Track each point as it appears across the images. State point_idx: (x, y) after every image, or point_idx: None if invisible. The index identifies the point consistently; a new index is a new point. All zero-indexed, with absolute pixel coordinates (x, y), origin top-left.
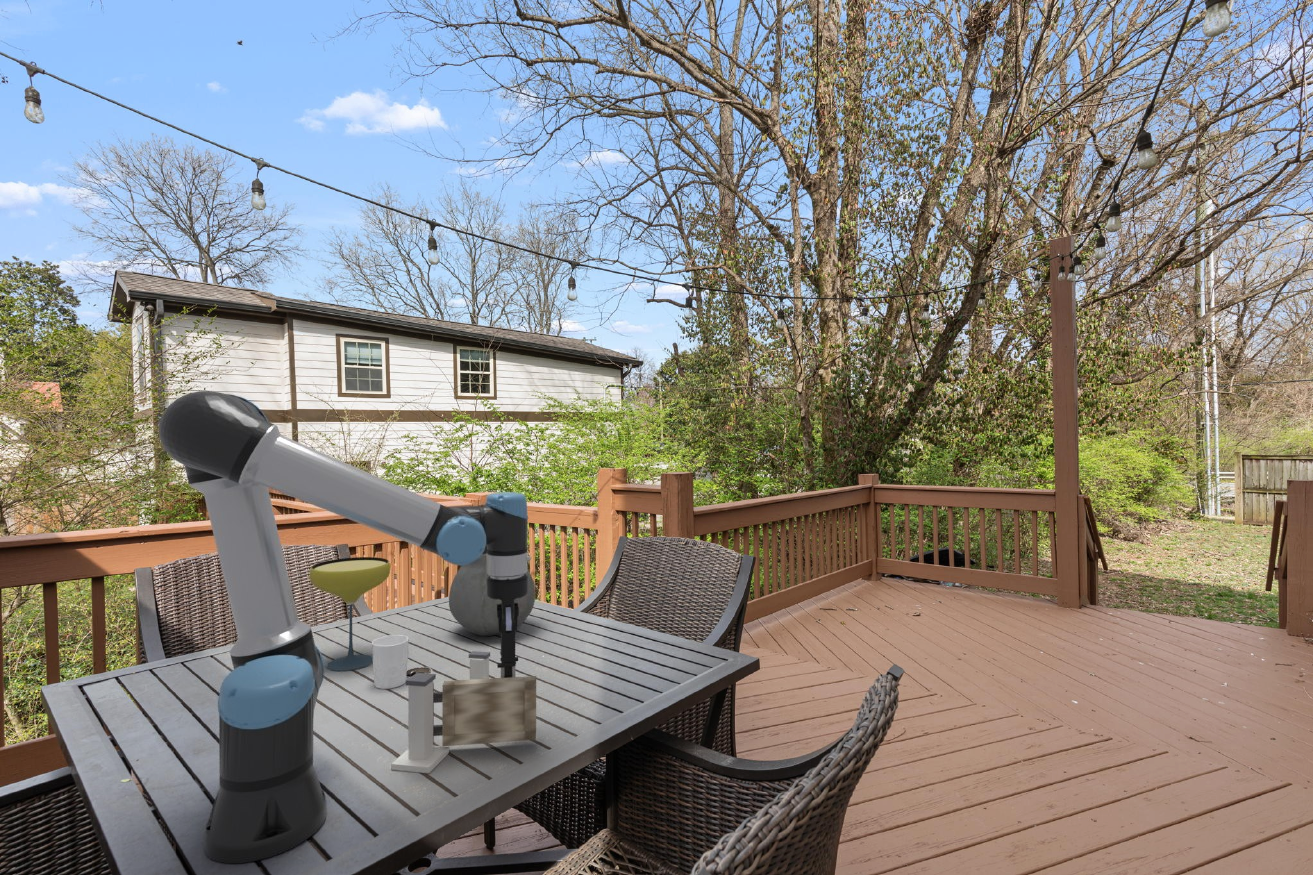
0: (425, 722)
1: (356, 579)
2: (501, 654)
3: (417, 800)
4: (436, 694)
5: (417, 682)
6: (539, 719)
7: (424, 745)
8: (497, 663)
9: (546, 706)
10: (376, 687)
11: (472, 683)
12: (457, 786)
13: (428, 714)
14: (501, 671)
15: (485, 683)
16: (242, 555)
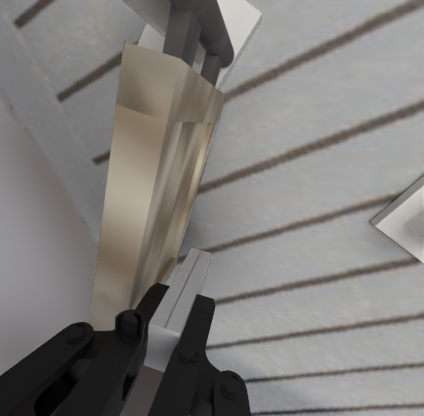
0: (126, 3)
1: None
2: (112, 381)
3: (56, 24)
4: (167, 26)
5: None
6: (262, 290)
7: (153, 28)
8: (142, 326)
9: (310, 318)
10: None
11: (108, 186)
12: (84, 104)
13: (133, 7)
14: (157, 309)
15: (103, 230)
16: None
